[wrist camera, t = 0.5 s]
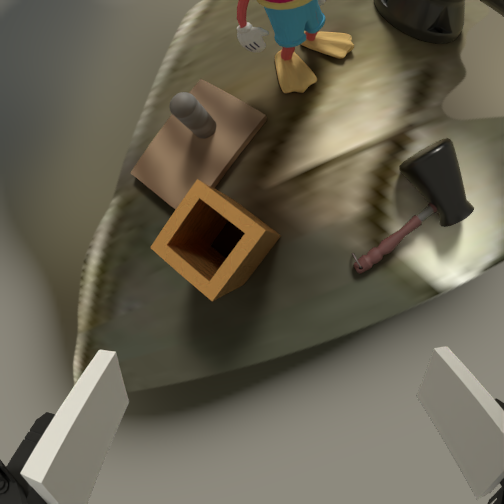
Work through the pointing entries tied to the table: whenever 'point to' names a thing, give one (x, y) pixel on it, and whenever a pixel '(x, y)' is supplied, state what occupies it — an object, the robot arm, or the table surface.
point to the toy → (293, 38)
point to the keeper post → (197, 142)
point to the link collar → (203, 235)
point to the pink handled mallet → (427, 196)
